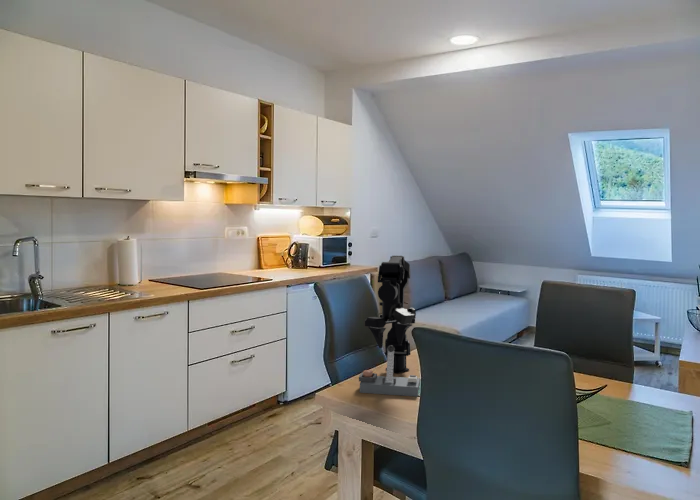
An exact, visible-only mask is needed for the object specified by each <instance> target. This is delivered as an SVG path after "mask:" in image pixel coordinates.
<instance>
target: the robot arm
mask: <svg viewBox="0 0 700 500" xmlns="http://www.w3.org/2000/svg"><path fill="white" fill-rule="evenodd" d="M409 279H411V265H410V263H408V261H406V260H405V255H404V256H403V255H391V256H390V258H389V261H382V262H381V264H380V265H379V267H378V276H377V283H381V284H382V285H381V286H379V288H378V289H377V290H378V291H377V296H378V298H379V299H380V302H379V306H381V314H379V317H378V316H369V317H366V319H364V327H367V329H368V330H369V331H370V332H371V333H372V336H373V337H374V340H375V342H376V344H377V345H378V346H377V347H378V348H379V349H382V348H383V345H384V347H385V348H384V349H385V355H386V356H388V346H390V345H392V346H394V348H395V350H394V364H393V374H394V373H395V374H400V373H404V372H408V371H410V368H408V367H407V357H408V356H410V355H411V352H412V351H411V343H410V342H409V339H408V335H407V330H408V329H409V328H410V327H413V324H415V323H416V318H417V317H416V315H417V314H416V313H417V312H416V309H415V308H414V307H409V308H408V309H407V308H405V289H406V288H407V286H408V285H409ZM387 324H391V328H390V329H389V331H388V332H387V335H386V338H385V342H384V332H385V331H386V329H387V327H385V326H386V325H387ZM383 343H384V344H383ZM385 371H387V367H385Z"/></svg>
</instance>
